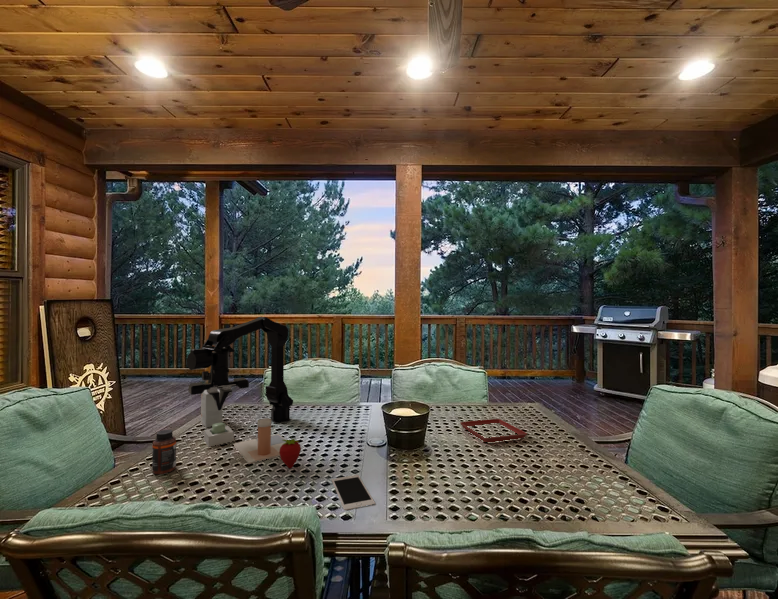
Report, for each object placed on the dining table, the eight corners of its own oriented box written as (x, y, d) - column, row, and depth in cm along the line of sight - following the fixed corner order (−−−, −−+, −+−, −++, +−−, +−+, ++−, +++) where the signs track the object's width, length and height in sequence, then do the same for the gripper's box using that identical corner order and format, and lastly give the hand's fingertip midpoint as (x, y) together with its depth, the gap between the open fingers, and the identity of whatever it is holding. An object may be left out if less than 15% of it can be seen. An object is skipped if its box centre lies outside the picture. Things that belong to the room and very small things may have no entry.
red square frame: (498, 426, 150) (498, 417, 150) (528, 442, 133) (528, 433, 133) (459, 430, 145) (459, 421, 145) (484, 448, 127) (484, 438, 127)
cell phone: (344, 512, 88) (344, 509, 88) (331, 481, 103) (331, 478, 103) (375, 506, 91) (375, 503, 91) (358, 476, 106) (358, 474, 106)
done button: (223, 431, 133) (223, 421, 133) (226, 435, 130) (226, 425, 130) (210, 434, 131) (211, 424, 131) (213, 437, 127) (213, 427, 127)
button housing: (227, 435, 136) (227, 425, 136) (233, 441, 129) (233, 431, 129) (203, 439, 131) (203, 429, 131) (208, 447, 125) (208, 436, 125)
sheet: (278, 435, 136) (278, 433, 136) (298, 451, 122) (298, 449, 122) (232, 445, 126) (232, 443, 126) (248, 464, 112) (248, 462, 112)
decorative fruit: (275, 473, 106) (275, 438, 106) (285, 462, 114) (285, 429, 114) (294, 475, 105) (295, 440, 106) (304, 463, 113) (304, 430, 113)
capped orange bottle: (265, 449, 122) (265, 417, 122) (273, 452, 120) (274, 419, 120) (254, 453, 118) (254, 420, 118) (263, 456, 116) (263, 423, 116)
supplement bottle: (180, 467, 109) (181, 429, 109) (162, 476, 104) (163, 436, 104) (165, 464, 111) (166, 427, 111) (147, 473, 106) (147, 433, 106)
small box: (222, 424, 147) (223, 391, 147) (205, 428, 143) (205, 394, 143) (217, 419, 153) (217, 388, 153) (200, 422, 149) (200, 390, 149)
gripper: (240, 360, 142) (240, 400, 142) (186, 365, 131) (185, 409, 131) (249, 364, 133) (248, 407, 133) (191, 369, 122) (191, 417, 122)
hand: (219, 410), depth 130 cm, fingers closed
